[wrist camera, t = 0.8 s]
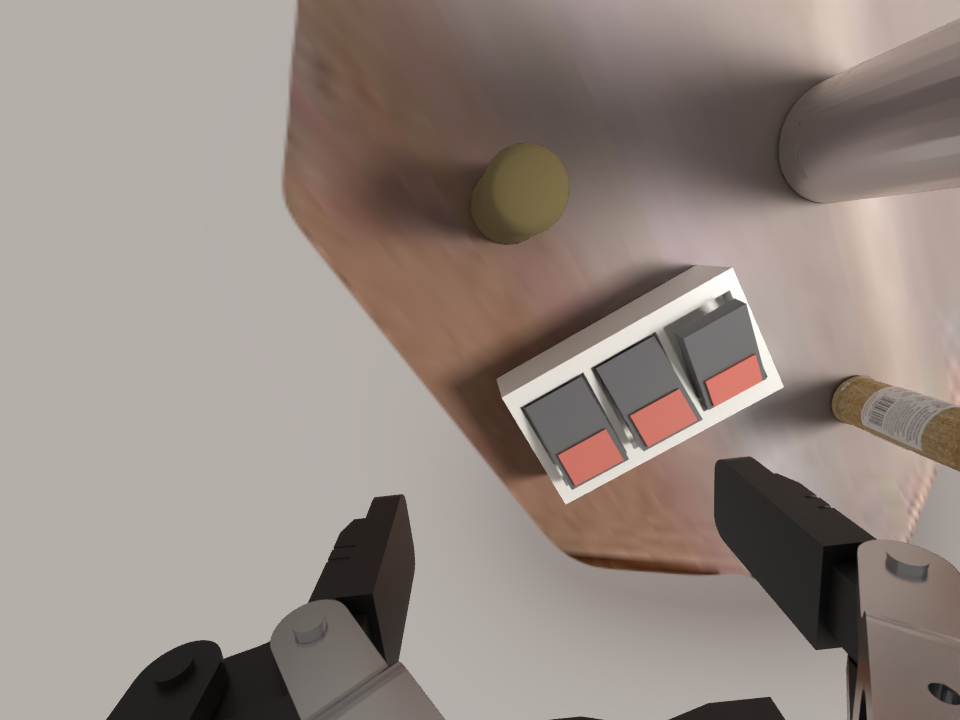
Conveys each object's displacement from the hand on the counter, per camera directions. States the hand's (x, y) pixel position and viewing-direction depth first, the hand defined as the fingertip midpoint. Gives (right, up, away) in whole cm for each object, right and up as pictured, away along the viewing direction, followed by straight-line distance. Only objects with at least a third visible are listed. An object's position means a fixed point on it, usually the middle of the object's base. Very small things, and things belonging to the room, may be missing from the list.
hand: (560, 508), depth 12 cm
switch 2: (+16, +4, +23) cm, 28 cm away
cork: (0, +16, +25) cm, 29 cm away
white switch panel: (+10, +3, +28) cm, 30 cm away
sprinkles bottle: (+32, 0, +30) cm, 43 cm away
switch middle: (+10, +1, +23) cm, 25 cm away
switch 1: (+5, -2, +24) cm, 24 cm away
